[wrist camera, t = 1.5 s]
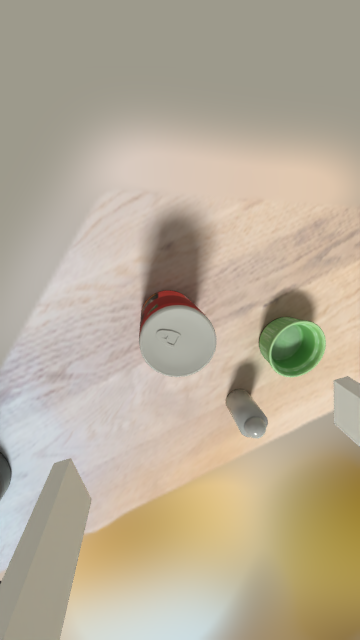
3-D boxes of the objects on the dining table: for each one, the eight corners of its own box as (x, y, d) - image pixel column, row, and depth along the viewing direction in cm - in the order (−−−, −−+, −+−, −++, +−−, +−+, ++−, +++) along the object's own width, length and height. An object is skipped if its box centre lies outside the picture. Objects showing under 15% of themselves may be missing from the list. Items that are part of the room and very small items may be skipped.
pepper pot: (227, 413, 39) (247, 450, 32) (223, 393, 38) (242, 426, 31) (251, 406, 40) (275, 441, 32) (248, 385, 38) (272, 417, 31)
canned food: (144, 285, 31) (144, 300, 21) (199, 294, 33) (225, 312, 22) (137, 336, 33) (133, 374, 23) (189, 342, 34) (208, 380, 24)
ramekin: (316, 326, 37) (337, 335, 33) (287, 371, 39) (304, 385, 35) (274, 304, 35) (291, 310, 31) (245, 353, 37) (258, 365, 32)
